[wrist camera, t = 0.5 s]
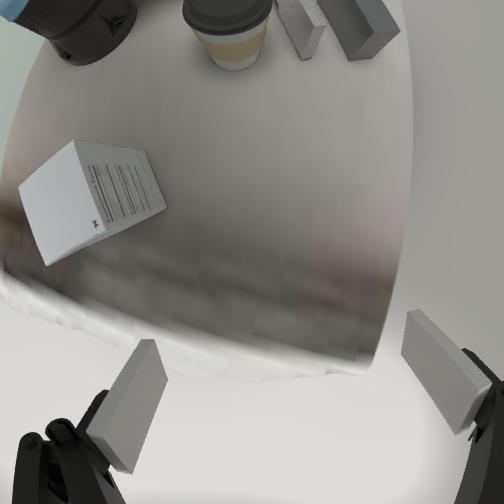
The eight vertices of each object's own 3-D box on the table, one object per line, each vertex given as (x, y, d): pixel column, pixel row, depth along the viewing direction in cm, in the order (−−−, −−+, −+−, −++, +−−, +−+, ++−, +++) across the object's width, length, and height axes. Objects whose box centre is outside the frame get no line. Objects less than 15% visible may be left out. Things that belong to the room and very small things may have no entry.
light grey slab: (266, -6, 28) (268, -44, 19) (276, -7, 28) (280, -46, 18) (301, 59, 31) (314, 26, 22) (311, 57, 31) (326, 24, 22)
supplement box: (145, 148, 35) (75, 134, 19) (169, 208, 37) (110, 230, 21) (93, 179, 36) (15, 186, 20) (115, 234, 38) (44, 269, 22)
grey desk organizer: (250, -8, 28) (249, -46, 19) (327, -19, 27) (340, -53, 17) (291, 72, 32) (302, 41, 23) (372, 58, 31) (400, 31, 21)
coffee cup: (267, 26, 30) (272, -37, 16) (268, 77, 32) (274, 22, 18) (204, 28, 30) (181, -31, 16) (201, 79, 33) (171, 29, 18)
